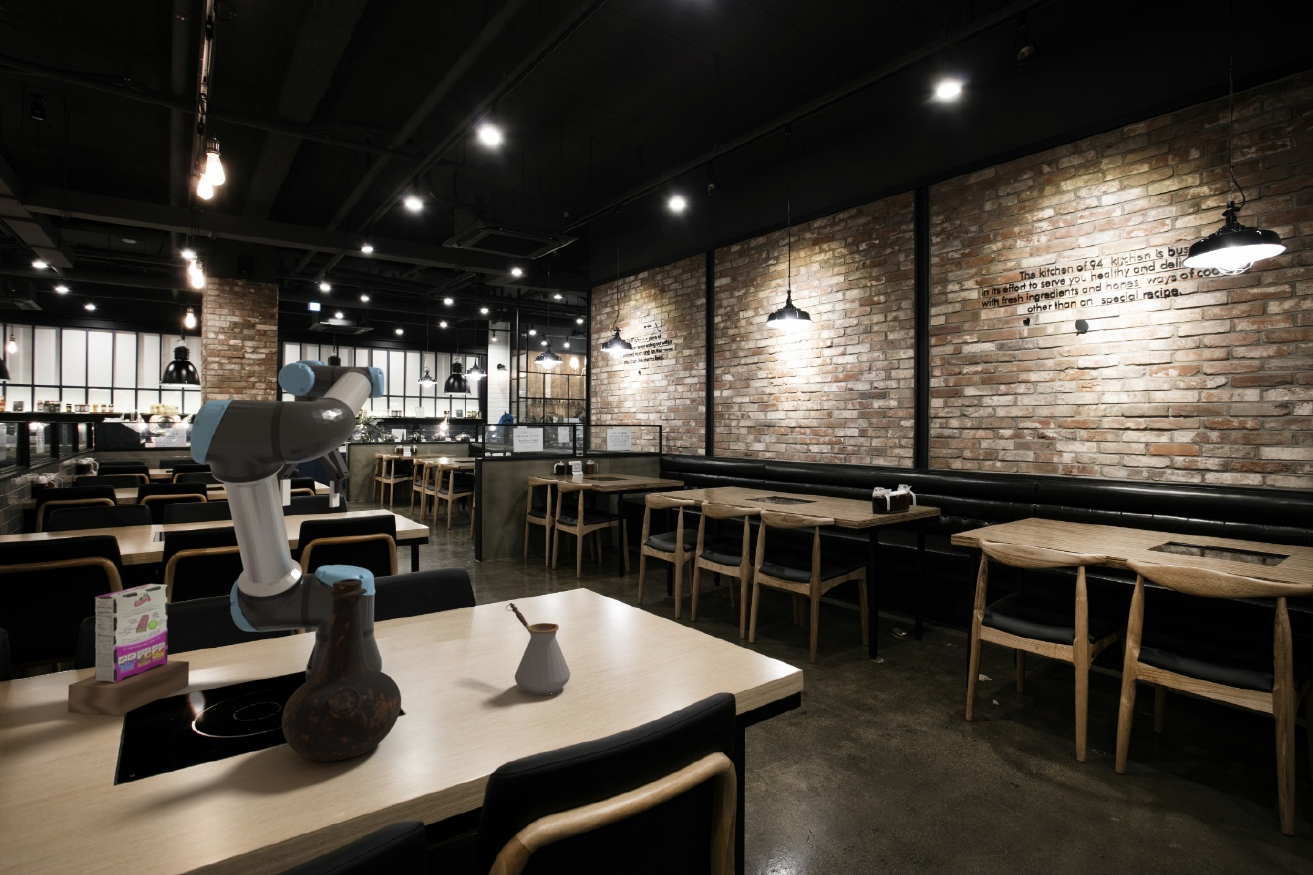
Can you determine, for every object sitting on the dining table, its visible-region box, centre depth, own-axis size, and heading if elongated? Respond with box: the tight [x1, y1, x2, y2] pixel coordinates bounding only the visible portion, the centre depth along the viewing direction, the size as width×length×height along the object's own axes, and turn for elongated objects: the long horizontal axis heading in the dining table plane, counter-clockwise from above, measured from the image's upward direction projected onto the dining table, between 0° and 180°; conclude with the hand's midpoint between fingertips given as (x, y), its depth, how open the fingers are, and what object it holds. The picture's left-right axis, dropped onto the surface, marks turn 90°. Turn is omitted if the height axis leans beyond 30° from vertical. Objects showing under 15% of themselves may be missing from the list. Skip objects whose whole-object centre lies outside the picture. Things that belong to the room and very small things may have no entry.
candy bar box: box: [94, 583, 168, 683], centre depth 128 cm, size 11×5×16 cm, turn 171°
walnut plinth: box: [67, 659, 190, 716], centre depth 128 cm, size 11×15×5 cm
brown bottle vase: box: [281, 579, 402, 762], centre depth 108 cm, size 18×18×28 cm
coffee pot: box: [505, 602, 571, 697], centre depth 139 cm, size 21×12×15 cm, turn 39°
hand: (309, 506), depth 163 cm, fingers open, 13 cm apart
